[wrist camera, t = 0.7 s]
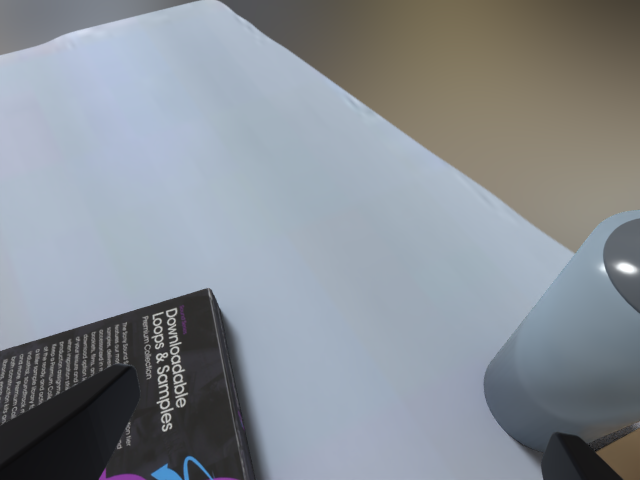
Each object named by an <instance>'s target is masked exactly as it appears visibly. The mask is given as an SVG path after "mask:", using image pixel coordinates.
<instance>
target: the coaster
mask: <svg viewBox="0 0 640 480" xmlns="http://www.w3.org/2000/svg"><path fill="white" fill-rule="evenodd" d="M595 452H596V453H597V454H598V455H599V456H600V457H601V458H602V459H603V460H604V461H605V462H606V463H607V464H608V465H609V466H610V467H611V468H612V469H613V470H614V471H615V472H616V473H617V474H618V475H619V476H621V477H622V478H623V479H624V480H640V428H638V429H637V430H635V431H633V432H631V433H629V434H627V435H625V436H623V437H622V438H620V439H618V440H616V441H614V442H612V443H610V444H609V445H607V446H605V447H603V448H601V449H599V450H597V451H595Z"/></svg>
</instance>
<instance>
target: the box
mask: <svg viewBox="0 0 640 480" xmlns="http://www.w3.org/2000/svg"><path fill="white" fill-rule="evenodd" d="M116 363H121V364H128V365H132V366H134V367H135V368H136V371H137V376H138V381H139V386H140V391H141V396H140V400H139V403H138V405H137V407H136V409H135V411H134V413H133V415H132V417H131V419H130V421H129V423H128V425H127V427H126V429H125V431H124V433H123V435H122V437H121V439H120V441H119V443H118V445H117V447H116V449H115V451H114V453H113V455H112V457H111V459H110V461H109V462H108V464H107V466H106V468H105V470H104V471H103V473H102V475H101V476H100V478H99V480H255V475H254V470H253V466H252V461H251V456H250V452H249V447H248V443H247V438H246V433H245V428H244V423H243V419H242V414H241V409H240V404H239V400H238V395H237V391H236V386H235V381H234V376H233V371H232V367H231V362H230V358H229V353H228V347H227V342H226V337H225V332H224V327H223V322H222V318H221V312H220V308H219V306H218V303H217V301H216V298H215V296H214V294H213V292H212V290H211V289H210V288H206V289H203V290H200V291H196V292H193V293H190V294H187V295H183V296H180V297H177V298H173V299H170V300H166V301H163V302H160V303H157V304H154V305H151V306H147V307H144V308H140V309H137V310H134V311H130V312H127V313H124V314H121V315H117V316H114V317H111V318H107V319H104V320H101V321H98V322H94V323H91V324H88V325H85V326H81V327H78V328H75V329H72V330H68V331H65V332H62V333H59V334H55V335H52V336H49V337H46V338H42V339H39V340H36V341H32V342H29V343H25V344H22V345H19V346H15V347H12V348H8V349H5V350H2V351H0V425H1V424H3V423H5V422H7V421H9V420H11V419H13V418H14V417H16V416H18V415H20V414H22V413H24V412H26V411H27V410H29V409H31V408H33V407H35V406H37V405H39V404H41V403H42V402H44V401H46V400H48V399H50V398H52V397H54V396H55V395H57V394H59V393H61V392H63V391H65V390H67V389H69V388H70V387H72V386H74V385H76V384H78V383H80V382H82V381H83V380H85V379H87V378H89V377H91V376H93V375H95V374H96V373H98V372H100V371H102V370H104V369H106V368H108V367H110V366H111V365H114V364H116Z"/></svg>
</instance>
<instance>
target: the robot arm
mask: <svg viewBox="0 0 640 480" xmlns="http://www.w3.org/2000/svg"><path fill="white" fill-rule="evenodd" d="M140 396H141V391H140V386H139V381H138V376H137V371H136V368H135V367H134V366H132V365H128V364H121V363H116V364H114V365H111V366H110V367H108V368H106V369H104V370H102V371H100V372H98V373H96V374H95V375H93V376H91V377H89V378H87V379H85V380H83V381H82V382H80V383H78V384H76V385H74V386H72V387H70V388H69V389H67V390H65V391H63V392H61V393H59V394H57V395H55V396H54V397H52V398H50V399H48V400H46V401H44V402H42V403H41V404H39V405H37V406H35V407H33V408H31V409H29V410H27V411H26V412H24V413H22V414H20V415H18V416H16V417H14V418H13V419H11V420H9V421H7V422H5V423H3V424H1V425H0V480H99V478H100V476H101V475H102V473H103V471H104V470H105V468H106V466H107V464H108V462H109V461H110V459H111V457H112V455H113V453H114V451H115V449H116V447H117V445H118V443H119V441H120V439H121V437H122V435H123V433H124V431H125V429H126V427H127V425H128V423H129V421H130V419H131V417H132V415H133V413H134V411H135V409H136V407H137V405H138V403H139V400H140ZM541 469H542V475H543V480H624V479H623V478H622V477H621V476H619V475H618V474H617V473H616V472H615V471H614V470H613V469H612V468H611V467H610V466H609V465H608V464H607V463H606V462H605V461H604V460H603V459H602V458H601V457H600V456H599V455H598V454H597V453H596V452H595V451H594V450H593V449H592V448H591V447H590V446H589V445H588V444H587V443H586V442H584V441H583V440H582V439H581V438H580V437H579V436H577V435H575V434H571V433H564V432H558V431H557V432H554V433H552V435H551V437H550V439H549V442H548V444H547V447H546V449H545V452H544V454H543V457H542V461H541Z"/></svg>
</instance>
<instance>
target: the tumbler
mask: <svg viewBox="0 0 640 480" xmlns="http://www.w3.org/2000/svg"><path fill="white" fill-rule="evenodd" d="M484 393H485V398H486V401H487V404H488V407H489V409H490V411H491V413H492V415H493V416H494V418H495V419H496V421H497V422H498V423H499V425H500V426H501V427H502V428H503V429H504V430H505V431H506V432H507V433H508V434H509V435H510V436H511V437H513V438H514V439H515V440H517V441H518V442H520V443H521V444H523V445H525V446H527V447H529V448H531V449H534V450H537V451H540V452H545V449H546V447H547V444H548V442H549V439H550V437H551V435H552V433H554V432H557V431H558V432H564V433H571V434H575V435H577V436H579V437H580V438H581V439H582V440H583V441H584V442H586V443H587V444H588V443H590V442H593V441H595V440H597V439H600V438H602V437H604V436H607V435H609V434H611V433H614V432H616V431H618V430H621V429H623V428H625V427H627V426H630V425H632V424H634V423H637V422H639V421H640V210H633V211H627V212H622V213H619V214H616V215H613V216H611V217H609V218H607V219H605V220H604V221H603V222H601V223H600V224H599V225H598V226H597V227H596V228H595V229H594V230H593V232H592V233H591V234H590V236H589V237H588V238H587V239H586V241H585V242H584V243H583V244H582V246H581V247H580V248H579V250H578V251H577V252H576V253H575V255H574V256H573V257H572V258H571V260H570V261H569V262H568V264H567V265H566V266H565V267H564V269H563V270H562V271H561V273H560V274H559V275H558V276H557V278H556V279H555V280H554V282H553V283H552V284H551V285H550V287H549V288H548V289H547V291H546V292H545V293H544V294H543V296H542V297H541V298H540V299H539V301H538V302H537V303H536V305H535V306H534V307H533V308H532V310H531V311H530V312H529V314H528V315H527V316H526V317H525V319H524V320H523V321H522V323H521V324H520V325H519V326H518V328H517V329H516V330H515V331H514V333H513V334H512V335H511V337H510V338H509V339H508V340H507V342H506V343H505V344H504V346H503V347H502V348H501V349H500V351H499V352H498V353H497V355H496V356H495V357H494V358H493V360H492V361H491V362H490V364H489V365H488V367H487V370H486V372H485V376H484Z"/></svg>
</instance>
